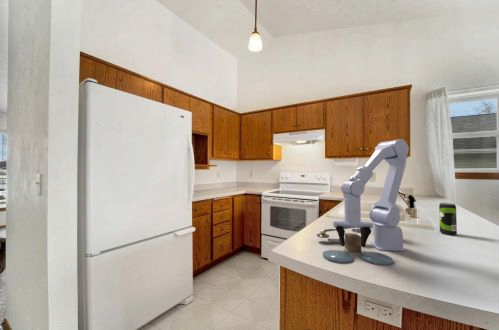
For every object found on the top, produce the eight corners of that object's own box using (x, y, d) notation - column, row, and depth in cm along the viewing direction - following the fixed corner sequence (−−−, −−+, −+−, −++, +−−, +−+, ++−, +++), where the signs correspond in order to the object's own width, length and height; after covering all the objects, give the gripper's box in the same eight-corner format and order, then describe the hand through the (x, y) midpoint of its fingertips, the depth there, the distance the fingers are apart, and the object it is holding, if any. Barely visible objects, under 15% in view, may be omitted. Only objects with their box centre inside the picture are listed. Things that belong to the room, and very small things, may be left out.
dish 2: (383, 254, 81) (383, 252, 81) (399, 266, 71) (399, 263, 71) (355, 253, 82) (355, 251, 82) (366, 264, 72) (366, 262, 72)
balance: (362, 241, 96) (362, 223, 96) (367, 245, 90) (367, 226, 91) (315, 239, 98) (315, 222, 98) (318, 243, 93) (318, 225, 93)
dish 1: (347, 252, 82) (347, 250, 82) (357, 264, 72) (357, 261, 72) (320, 251, 83) (320, 249, 83) (326, 262, 73) (326, 260, 74)
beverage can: (455, 233, 108) (454, 203, 109) (458, 236, 103) (457, 204, 103) (438, 231, 112) (438, 202, 112) (441, 234, 106) (440, 203, 107)
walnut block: (356, 248, 87) (356, 233, 87) (361, 252, 82) (361, 237, 83) (345, 248, 87) (344, 233, 88) (348, 252, 83) (348, 236, 83)
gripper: (336, 212, 82) (336, 248, 82) (376, 213, 81) (377, 250, 80) (331, 209, 89) (331, 242, 89) (368, 210, 88) (368, 244, 87)
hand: (352, 246), depth 85 cm, fingers open, 7 cm apart
